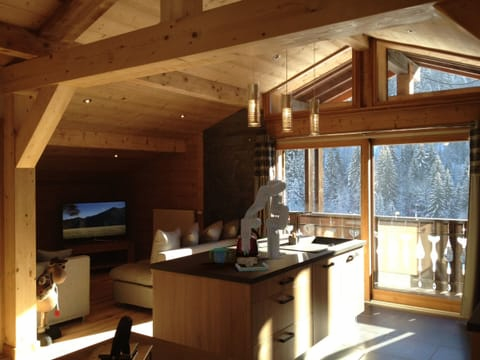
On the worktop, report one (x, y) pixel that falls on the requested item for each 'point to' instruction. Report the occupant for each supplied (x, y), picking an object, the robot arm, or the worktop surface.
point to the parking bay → (253, 268)
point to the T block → (247, 261)
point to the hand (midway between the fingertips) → (246, 260)
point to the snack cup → (220, 254)
